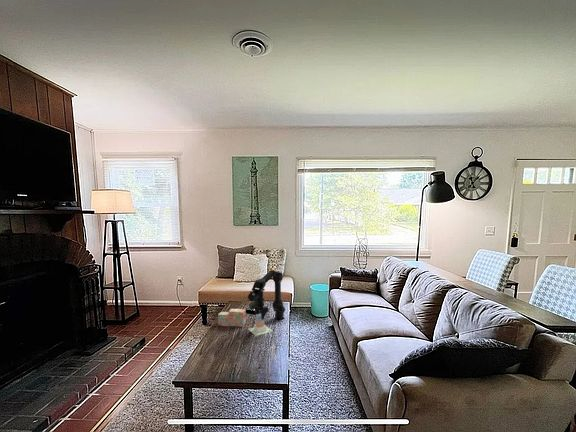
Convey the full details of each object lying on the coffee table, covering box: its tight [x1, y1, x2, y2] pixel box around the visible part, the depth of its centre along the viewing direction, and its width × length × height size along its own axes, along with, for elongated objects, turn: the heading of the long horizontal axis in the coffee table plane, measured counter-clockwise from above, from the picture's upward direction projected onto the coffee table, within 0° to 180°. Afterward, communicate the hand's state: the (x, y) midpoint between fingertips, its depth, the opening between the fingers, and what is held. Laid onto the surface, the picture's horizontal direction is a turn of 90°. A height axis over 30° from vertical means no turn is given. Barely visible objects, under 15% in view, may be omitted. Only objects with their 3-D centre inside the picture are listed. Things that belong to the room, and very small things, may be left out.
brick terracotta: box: [255, 320, 265, 327], centre depth 209 cm, size 5×5×4 cm
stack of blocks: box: [217, 308, 247, 327], centre depth 220 cm, size 21×6×12 cm, turn 80°
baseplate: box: [248, 325, 273, 337], centre depth 209 cm, size 14×14×1 cm
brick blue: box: [255, 312, 265, 322], centre depth 209 cm, size 5×5×4 cm
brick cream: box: [253, 323, 267, 333], centre depth 209 cm, size 7×7×4 cm
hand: (259, 317), depth 209 cm, fingers open, 9 cm apart
